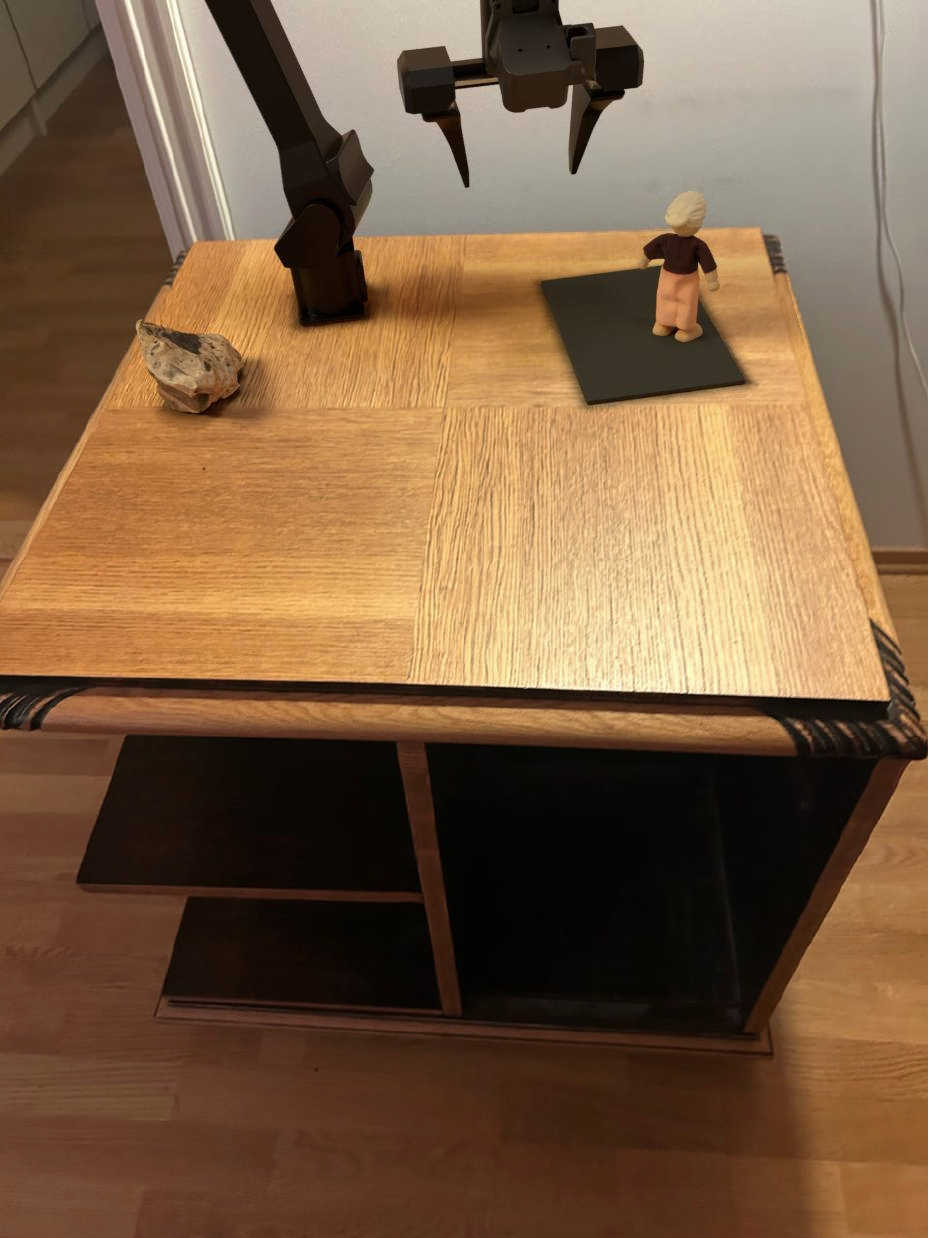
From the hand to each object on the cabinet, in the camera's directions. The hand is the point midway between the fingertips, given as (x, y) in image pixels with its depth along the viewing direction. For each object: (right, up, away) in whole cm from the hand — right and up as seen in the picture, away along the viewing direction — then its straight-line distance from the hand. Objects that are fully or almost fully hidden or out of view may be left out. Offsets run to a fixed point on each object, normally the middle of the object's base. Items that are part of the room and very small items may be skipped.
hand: (519, 179), depth 79 cm
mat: (+11, -11, +7) cm, 17 cm away
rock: (-28, -17, +5) cm, 33 cm away
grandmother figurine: (+14, -11, +6) cm, 19 cm away
